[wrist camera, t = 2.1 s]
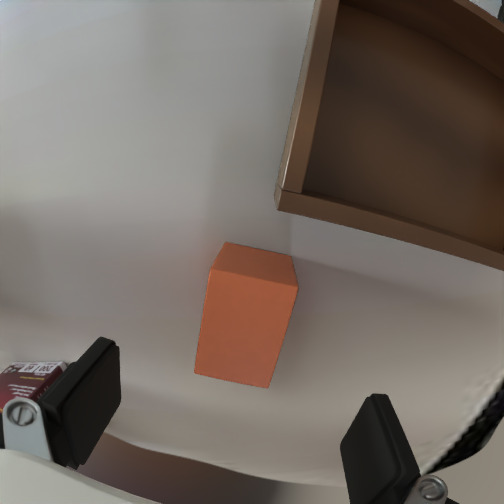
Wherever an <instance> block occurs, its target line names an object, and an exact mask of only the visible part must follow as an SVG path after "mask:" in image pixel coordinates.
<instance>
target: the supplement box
mask: <svg viewBox="0 0 504 504" xmlns="http://www.w3.org/2000/svg"><path fill="white" fill-rule="evenodd" d="M66 368H67V366H66V364H65V362H64V361H59V362H38V363H28V362H13V363H12V364H11V365H10V366H9V367H8V368H7V369H5V370H4V371H3V372H2V373H1V374H0V413H3V408H4V406H5V404H6V403H8V402H9V401H10V400H12V399H15V398H27V399H30V400H32V401H34V402H36V401H37V400H38V399H39V398H40V397H41V396H42V394H43V393H44V392H45V391H46V390H47V389H48V388H49V387H50V386H51V384H52V383H53V382H54V381H55V380H56V379H57V378H58V377H59V376H60V375H61V374H62V372H63V371H64V370H65V369H66Z"/></svg>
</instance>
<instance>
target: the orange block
mask: <svg viewBox="0 0 504 504" xmlns="http://www.w3.org/2000/svg"><path fill="white" fill-rule="evenodd" d="M298 289H299V286H298V282H297V278H296V274H295V270H294V266H293V262H292V258H291V256H289V255H284V254H279V253H275V252H270V251H265V250H261V249H256V248H251V247H247V246H242V245H237V244H233V243H228V242H225V244H224V245H223V247H222V249H221V251H220V253H219V254H218V256H217V258H216V260H215V261H214V263H213V265H212V267H211V269H210V273H209V279H208V285H207V291H206V297H205V303H204V309H203V315H202V322H201V328H200V335H199V341H198V348H197V355H196V362H195V369H194V373H195V374H200V375H204V376H208V377H213V378H217V379H222V380H226V381H231V382H236V383H241V384H246V385H252V386H257V387H263V388H268V387H269V385H270V382H271V379H272V376H273V372H274V369H275V366H276V363H277V360H278V357H279V353H280V350H281V347H282V344H283V340H284V337H285V334H286V330H287V327H288V324H289V320H290V317H291V313H292V310H293V306H294V303H295V299H296V296H297V292H298Z"/></svg>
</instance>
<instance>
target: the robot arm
mask: <svg viewBox="0 0 504 504" xmlns="http://www.w3.org/2000/svg"><path fill="white" fill-rule="evenodd" d="M120 402H121V385H120V352H119V347H118V346H116V343H115V341H113V340H110V339H107V338H104V337H99V338H98V339H97V340H96V341H95V342H94V343H93V344H92V346H91V347H90V348H89V349H88V350H87V351H86V352H85V353H84V354H83V355H82V356H81V357H80V358H79V359H78V361H77V362H72V363H71V364H70V365H69V366H68V367H67V368H66V369H65V370H64V371H63V372H62V374H61V375H60V376H59V377H58V378H57V379H56V380H55V381H54V382H53V383H52V384H51V386H50V387H49V388H48V389H47V390H46V391H45V392H44V393H43V394H42V396H41V397H40V398H39V399H38V400H37V401H36V402H34V401H32V400H30V399H27V398H15V399H12V400H10V401H9V402H8V403H6V404H5V406H4V408H3V413H0V504H162V503H158V502H155V501H151V500H148V499H145V498H141V497H139V496H136V495H132V494H130V493H127V492H124V491H122V490H119V489H116V488H113V487H111V486H108V485H106V484H103V483H100V482H98V481H95V480H93V479H91V478H88V477H86V476H84V475H81V474H79V473H77V472H75V471H72V470H70V469H68V468H66V466H69V467H72V468H73V469H75V470H77V468H78V467H79V465H80V464H81V465H84V464H85V463H86V461H87V459H88V458H89V456H90V454H91V452H92V451H93V449H94V447H95V446H96V444H97V442H98V440H99V439H100V437H101V435H102V434H103V432H104V430H105V428H106V427H107V425H108V423H109V422H110V420H111V418H112V417H113V415H114V413H115V412H116V410H117V408H118V407H119V405H120ZM340 451H341V456H342V462H343V467H344V472H345V477H346V482H347V488H348V493H349V499H350V504H459V503H457V502H455V501H453V500H451V499H449V498H447V495H448V489H447V486H446V484H445V482H444V481H443V480H442V479H440V478H439V477H437V476H434V475H424V476H421V475H420V470H419V467H418V465H417V462H416V460H415V457H414V455H413V452H412V450H411V448H410V445H409V443H408V440H407V438H406V436H405V433H404V431H403V429H402V426H401V424H400V422H399V419H398V417H397V415H396V413H395V410H394V408H393V406H392V404H391V401H390V399H389V397H388V395H386V394H372V395H371V396H370V397H367V398H366V399H365V401H364V403H363V405H362V406H361V408H360V410H359V412H358V414H357V416H356V417H355V419H354V421H353V423H352V424H351V426H350V428H349V429H348V431H347V433H346V434H345V436H344V438H343V439H342V441H341V444H340Z"/></svg>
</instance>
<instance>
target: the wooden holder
mask: <svg viewBox="0 0 504 504" xmlns="http://www.w3.org/2000/svg"><path fill="white" fill-rule="evenodd" d="M274 199H275V203H276V208H277V210H279V211H284V212H288V213H292V214H297V215H301V216H305V217H310V218H314V219H318V220H322V221H327V222H331V223H335V224H339V225H343V226H347V227H351V228H355V229H359V230H363V231H367V232H371V233H375V234H378V235H382V236H386V237H390V238H394V239H397V240H401V241H405V242H408V243H412V244H416V245H419V246H423V247H426V248H430V249H433V250H437V251H440V252H444V253H447V254H450V255H454V256H457V257H461V258H464V259H467V260H470V261H474V262H477V263H480V264H483V265H487V266H490V267H493V268H496V269H499V270H502V271H504V24H503V23H502V22H501V21H499V20H498V19H497V18H495V17H494V16H492V15H491V14H489V13H488V12H486V11H485V10H483V9H482V8H480V7H479V6H477V5H476V4H474V3H472V2H471V1H469V0H315V4H314V9H313V13H312V18H311V23H310V28H309V33H308V38H307V43H306V47H305V52H304V57H303V62H302V67H301V71H300V76H299V81H298V86H297V90H296V95H295V100H294V104H293V109H292V114H291V119H290V123H289V128H288V133H287V137H286V142H285V146H284V151H283V156H282V160H281V165H280V169H279V174H278V179H277V183H276V188H275V192H274Z"/></svg>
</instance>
